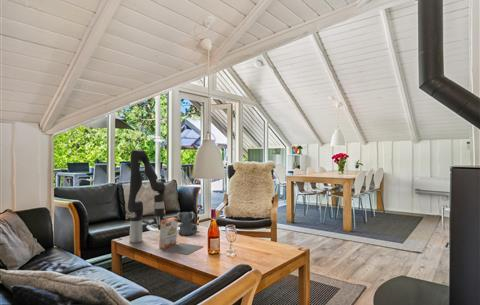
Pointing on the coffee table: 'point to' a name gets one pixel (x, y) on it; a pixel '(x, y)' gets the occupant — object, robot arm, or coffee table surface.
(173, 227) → the cracker box
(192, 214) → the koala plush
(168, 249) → the mat
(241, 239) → the coffee table surface
